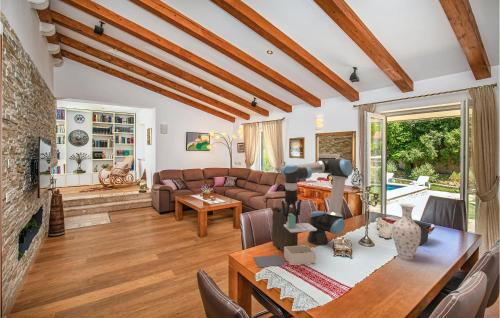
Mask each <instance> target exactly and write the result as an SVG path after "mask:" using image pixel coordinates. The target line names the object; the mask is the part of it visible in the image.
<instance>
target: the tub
mask: <svg viewBox="0 0 500 318" xmlns="http://www.w3.org/2000/svg"><path fill="white" fill-rule="evenodd" d="M301 252H304V253H301ZM283 258H284V259H285V261H286V262H287V261H288V262H289V263H288V262H287V263H288V265H289V266H290V265H294V266H299V265H298V264H305V265H309V264H308V263H315V264H316V252H315V251H314V249H312V248H311V247H310V246H309V245H307V244H303V245H301V244H300V245H297V246H287V247H284V253H283Z"/></svg>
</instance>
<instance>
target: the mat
mask: <svg viewBox="0 0 500 318" xmlns="http://www.w3.org/2000/svg"><path fill="white" fill-rule="evenodd" d="M252 258H253V260H254V262H255V264H256V267H257V269H259V268H261V269H262V268H270V267H269V266H274V267H281V266H280V265H285V263H286V260H284V259H283V258H282V256H281V254H273V255H262V256H260V255H259V256H253V257H252ZM285 266H286V265H285Z"/></svg>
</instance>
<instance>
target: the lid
mask: <svg viewBox="0 0 500 318" xmlns="http://www.w3.org/2000/svg"><path fill="white" fill-rule="evenodd" d="M288 216H289V227H287V226H286V224H284V227H285V228H286V229H288V230H289V231H290V232H291V233H292V232H298V233H303V232H304V233H305V232H310V231H317V229H316V228H315V227H313V226H312V225H310V222H298V224H295V215H293V214H292V213H290V214H288Z"/></svg>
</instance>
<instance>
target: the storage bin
mask: <svg viewBox="0 0 500 318" xmlns="http://www.w3.org/2000/svg"><path fill="white" fill-rule="evenodd" d="M413 221H414V222H415V223H416V224H417V225H419V227H420V228H421V239H420V243H419V246H421V245H422V244H424V243H427V242H428V240H429V239H428V238H429V235H430V234H432V226H433V224H431V223H429V222H425V221H420V220H413Z"/></svg>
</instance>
